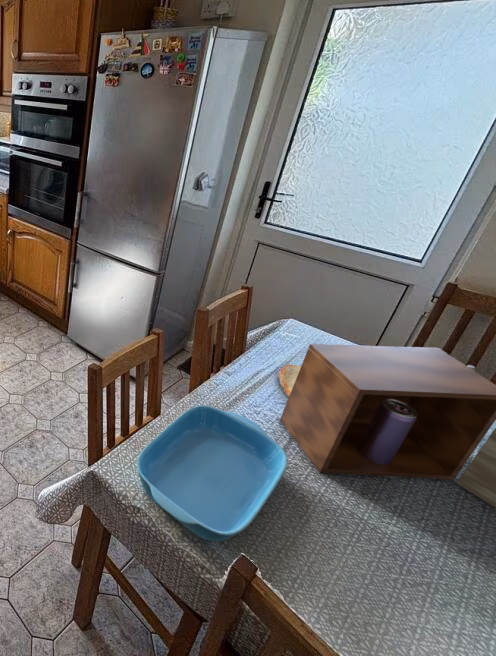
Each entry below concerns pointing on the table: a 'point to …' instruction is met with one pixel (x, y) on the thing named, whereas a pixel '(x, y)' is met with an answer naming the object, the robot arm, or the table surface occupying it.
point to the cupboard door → (482, 472)
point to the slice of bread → (288, 377)
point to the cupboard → (371, 390)
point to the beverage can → (387, 431)
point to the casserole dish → (212, 471)
